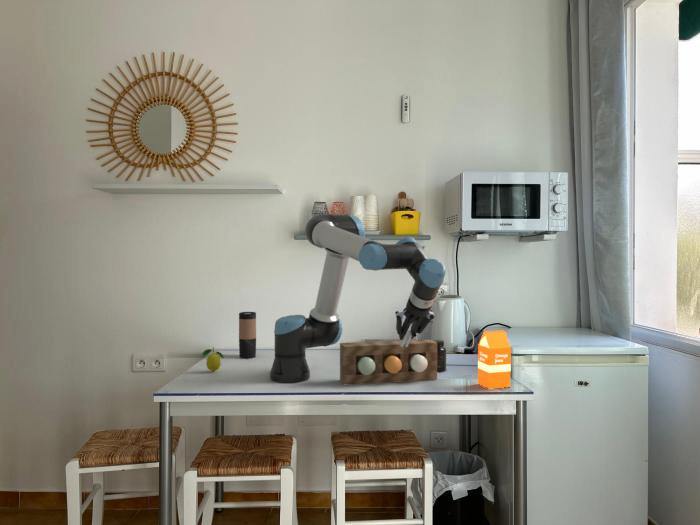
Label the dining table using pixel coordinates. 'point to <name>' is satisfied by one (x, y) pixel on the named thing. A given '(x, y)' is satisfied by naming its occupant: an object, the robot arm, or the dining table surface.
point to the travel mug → (247, 335)
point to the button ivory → (418, 363)
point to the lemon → (213, 359)
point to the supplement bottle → (441, 356)
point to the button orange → (392, 364)
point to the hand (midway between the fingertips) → (403, 343)
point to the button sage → (366, 365)
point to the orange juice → (494, 360)
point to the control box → (379, 353)
